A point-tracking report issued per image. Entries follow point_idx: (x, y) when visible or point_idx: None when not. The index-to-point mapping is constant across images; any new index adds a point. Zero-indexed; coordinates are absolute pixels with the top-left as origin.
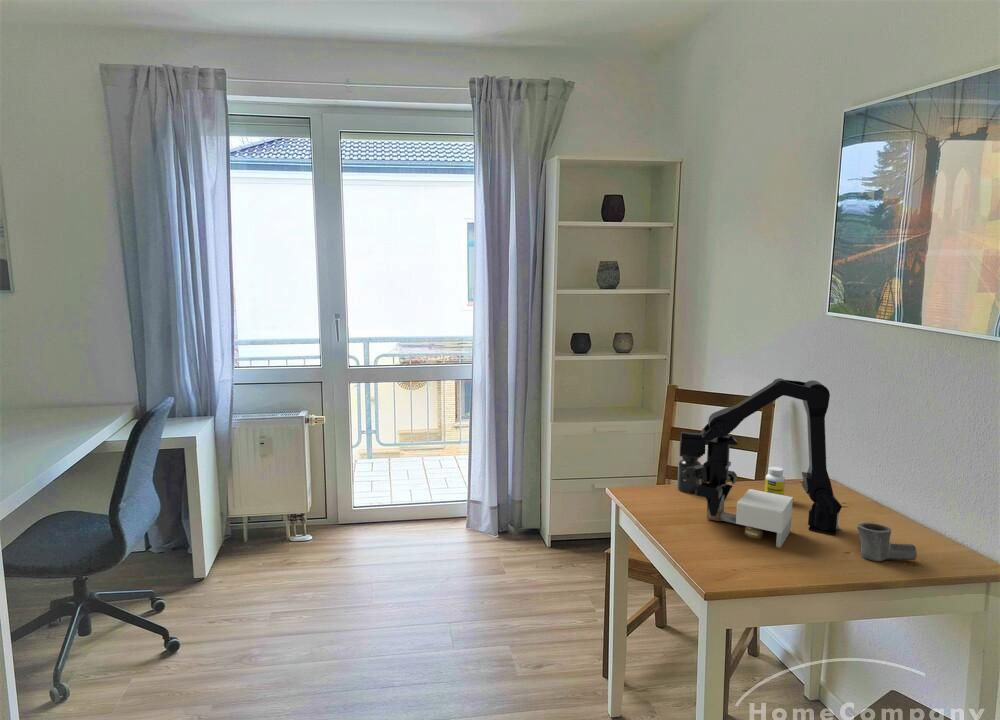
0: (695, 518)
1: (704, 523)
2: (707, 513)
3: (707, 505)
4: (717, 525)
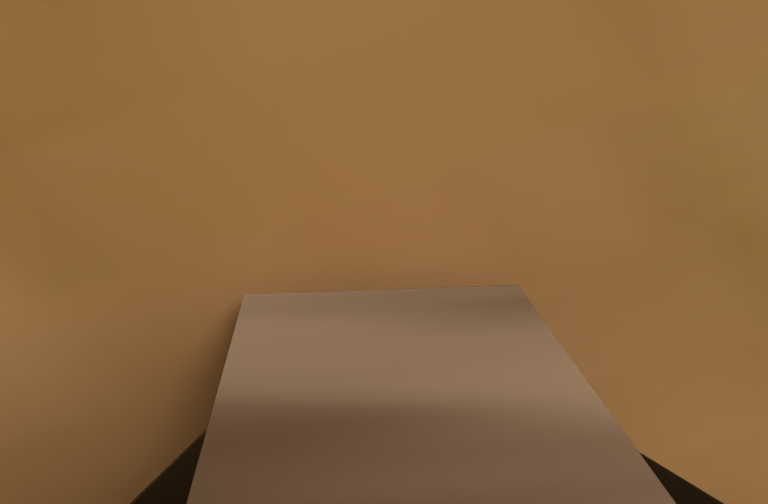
0: (184, 86)
1: (58, 308)
2: (233, 358)
3: (195, 480)
4: (133, 485)
